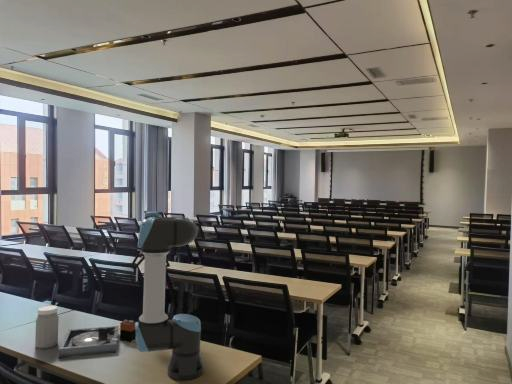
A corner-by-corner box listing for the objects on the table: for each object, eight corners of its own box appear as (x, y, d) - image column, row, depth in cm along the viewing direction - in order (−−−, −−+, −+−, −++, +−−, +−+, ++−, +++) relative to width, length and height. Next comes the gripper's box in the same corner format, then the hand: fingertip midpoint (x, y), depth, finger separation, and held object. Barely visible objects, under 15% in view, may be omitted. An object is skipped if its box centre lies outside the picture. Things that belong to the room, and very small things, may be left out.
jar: (47, 340, 187) (48, 303, 187) (62, 343, 184) (63, 306, 184) (29, 347, 178) (31, 309, 178) (46, 351, 175) (47, 312, 175)
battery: (130, 342, 187) (130, 322, 187) (119, 340, 190) (119, 320, 190) (136, 339, 191) (136, 320, 191) (125, 337, 194) (125, 318, 194)
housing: (117, 352, 176) (118, 343, 176) (58, 358, 168) (58, 348, 168) (119, 333, 199) (120, 325, 199) (67, 337, 191) (68, 329, 191)
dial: (63, 346, 177) (63, 331, 177) (86, 333, 194) (87, 319, 194) (95, 351, 173) (95, 335, 173) (116, 337, 190) (117, 322, 190)
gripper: (174, 239, 209) (173, 277, 209) (127, 239, 202) (125, 279, 202) (175, 241, 201) (174, 281, 202) (126, 241, 195) (124, 282, 195)
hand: (149, 280), depth 202 cm, fingers open, 13 cm apart
